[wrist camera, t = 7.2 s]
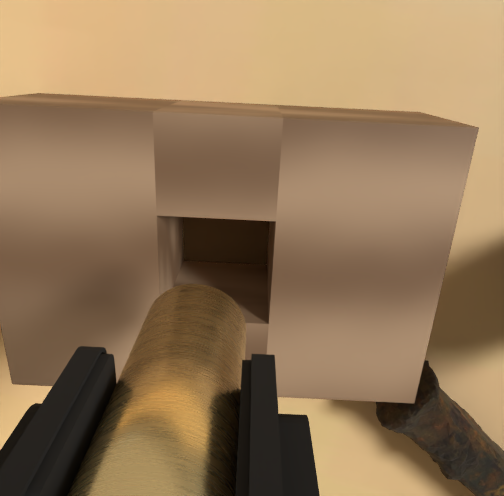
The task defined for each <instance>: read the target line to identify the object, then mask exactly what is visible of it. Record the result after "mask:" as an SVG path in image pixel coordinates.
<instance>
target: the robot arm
mask: <svg viewBox="0 0 504 496" xmlns="http://www.w3.org/2000/svg"><path fill="white" fill-rule="evenodd" d="M116 384H117V383H116V371H115V360H114V356H113V354H107V351H106V349H105V348H104V347H88V346H80V347H78V348H77V349H76V351H75V352H74V354H73V356H72V357H71V359H70V360H69V362H68V363H67V365H66V367H65V368H64V370H63V371H62V373H61V375H60V376H59V378H58V379H57V381H56V382H55V384H54V386H53V387H52V389H51V390H50V392H49V393H48V395H47V397H46V398H45V400H44V401H43V403H42V404H37V403H35V404H34V405H32V406H31V407H30V408H29V409H28V410H27V411H26V413H25V414H24V416H23V417H22V419H21V420H20V422H19V423H18V425H17V426H16V428H15V429H14V431H13V432H12V434H11V435H10V437H9V438H8V440H7V441H6V443H5V444H4V446H3V447H2V449H1V450H0V496H67V495H68V493H69V490H70V488H71V486H72V484H73V481H74V479H75V477H76V475H77V472H78V470H79V468H80V465H81V463H82V461H83V459H84V456H85V454H86V452H87V450H88V447H89V445H90V443H91V441H92V438H93V436H94V434H95V431H96V429H97V427H98V425H99V422H100V420H101V418H102V416H103V413H104V411H105V409H106V407H107V404H108V402H109V400H110V398H111V395H112V393H113V391H114V388H115V386H116ZM235 496H319V489H318V482H317V475H316V468H315V462H314V455H313V448H312V441H311V434H310V427H309V421H308V417H307V415H292V414H278V401H277V384H276V368H275V355H269V354H252V355H251V360H242V374H241V394H240V414H239V433H238V453H237V473H236V493H235Z"/></svg>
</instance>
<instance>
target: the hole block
mask: <svg viewBox="0 0 504 496" xmlns="http://www.w3.org/2000/svg"><path fill="white" fill-rule="evenodd" d="M478 129H479V128H478V127H474V126H470V125H466V124H463V123H459V122H455V121H451V120H447V119H444V118H440V117H436V116H432V115H428V114H425V113H421V112H404V111H384V110H364V109H344V108H324V107H303V106H283V105H263V104H243V103H223V102H203V101H182V100H162V99H142V98H122V97H102V96H81V95H61V94H41V93H37V94H27V95H18V96H8V97H0V325H1V330H2V335H3V340H4V345H5V350H6V355H7V360H8V365H9V370H10V375H11V380H12V384H19V385H40V386H54V384H55V382H56V381H57V379H58V378H59V376H60V375H61V373H62V371H63V370H64V368H65V367H66V365H67V363H68V362H69V360H70V359H71V357H72V356H73V354H74V352H75V351H76V349H77V348H78V347H80V346H88V347H104V348H105V349H106V351H107V354H113V356H114V360H115V371H116V383H117V382H118V379H119V377H120V375H121V373H122V370H123V368H124V366H125V364H126V361H127V359H128V357H129V354H130V352H131V350H132V348H133V345H134V343H135V341H136V339H137V336H138V334H139V332H140V330H141V327H142V325H143V323H144V321H145V318H146V316H147V314H148V311H149V309H150V307H151V306H152V304H153V303H154V301H155V300H156V299H157V298H158V297H159V296H160V295H161V294H163V293H164V292H165V291H167V290H169V289H171V288H174V287H176V286H180V285H185V284H203V285H207V286H211V287H214V288H217V289H219V290H221V291H223V292H224V293H226V294H227V295H229V296H230V297H231V298H232V299H233V300H234V301H235V302H236V303H237V304H238V306H239V307H240V309H241V311H242V313H243V315H244V318H245V322H246V348H245V360H251V355H252V354H269V355H275V368H276V384H277V397H291V398H312V399H332V400H353V401H374V402H395V403H415V398H416V394H417V390H418V385H419V381H420V377H421V373H422V368H423V364H424V360H425V356H426V351H427V347H428V343H429V339H430V334H431V330H432V326H433V321H434V317H435V313H436V309H437V304H438V300H439V296H440V292H441V287H442V283H443V279H444V274H445V270H446V266H447V262H448V257H449V253H450V249H451V245H452V240H453V236H454V232H455V228H456V223H457V219H458V215H459V210H460V206H461V202H462V198H463V193H464V189H465V185H466V181H467V176H468V172H469V168H470V164H471V159H472V155H473V151H474V146H475V142H476V138H477V134H478ZM183 217H197V218H217V219H238V220H258V221H269V236H268V251H267V265H263V264H242V263H222V262H201V261H184V246H183Z"/></svg>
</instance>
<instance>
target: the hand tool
mask: <svg viewBox="0 0 504 496" xmlns="http://www.w3.org/2000/svg"><path fill="white" fill-rule="evenodd" d="M376 405H377V409H376V414H377V417H378V419H379V421H380V422H381V425H382V426H383V427H386V428H387V429H389V430H393V431H394V432H397V433H403V434H405V435H406V436H408V437H410V438H411V439H412V440H413V441H414V442H415V443H417V444H418V445H419V446H420V447H421V448H422V449H423V450H425V451H426V452H427V453H428V454H429V455H430V457H431V458H432V459H433V461H434V462H437V463H438V465H439V467H440V469H441V472H442V473H443V475H445V477H446V478H447V479H452V480H459V481H460V482H461V483H462V484H463V485H464V486H466V487H467V488H468V489H469V490H470V491H471V492H472V493H474V494H475V495H476V496H504V451H503V450H502V449H501V448H500V447H499V446H498V445H497V444H496V443H495V442H493V441H492V440H491V439H490V438H489V437H488V436H487V434H486V433H484V432H483V431H482V429H481V427H480V426H479V425H478V424H477V423H476V422H475V421H474V419H473V418H472V417H471V416H470V415H469V414H468V413H467V412H466V411H465V410H464V409H462V408H461V407H460V406H459V405H458V404H457V403H456V402H455V401H453V400H451V399H450V398H449V396H448V395H447V394H446V393H445V392H444V391H443V390H441V388H440V387H439V383H438V379H437V377H436V375H435V373H434V371H433V370H432V369H431V368H430V367H429V363H428V361H426V360H424V364H423V368H422V373H421V377H420V381H419V385H418V390H417V394H416V398H415V403H395V402H376Z"/></svg>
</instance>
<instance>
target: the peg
mask: <svg viewBox="0 0 504 496" xmlns="http://www.w3.org/2000/svg"><path fill="white" fill-rule="evenodd" d="M245 348H246V322H245V318H244V315H243V313H242V311H241V309H240V307H239V306H238V304H237V303H236V302H235V301H234V300H233V299H232V298H231V297H230V296H229V295H227V294H226V293H224V292H223V291H221V290H219V289H217V288H214V287H211V286H207V285H203V284H185V285H180V286H176V287H174V288H171V289H169V290H167V291H165V292H164V293H163V294H161V295H160V296H159V297H158V298H157V299H156V300H155V301H154V303H153V304H152V306H151V307H150V309H149V311H148V314H147V316H146V318H145V321H144V323H143V325H142V327H141V330H140V332H139V334H138V336H137V339H136V341H135V343H134V345H133V348H132V350H131V352H130V354H129V357H128V359H127V361H126V364H125V366H124V368H123V370H122V373H121V375H120V377H119V379H118V382H117V384H116V386H115V388H114V391H113V393H112V395H111V398H110V400H109V402H108V404H107V407H106V409H105V411H104V413H103V416H102V418H101V420H100V422H99V425H98V427H97V429H96V431H95V434H94V436H93V438H92V441H91V443H90V445H89V447H88V450H87V452H86V454H85V456H84V459H83V461H82V463H81V465H80V468H79V470H78V472H77V475H76V477H75V479H74V481H73V484H72V486H71V488H70V490H69V493H68V495H67V496H235V493H236V473H237V453H238V433H239V414H240V394H241V374H242V360H245Z"/></svg>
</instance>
